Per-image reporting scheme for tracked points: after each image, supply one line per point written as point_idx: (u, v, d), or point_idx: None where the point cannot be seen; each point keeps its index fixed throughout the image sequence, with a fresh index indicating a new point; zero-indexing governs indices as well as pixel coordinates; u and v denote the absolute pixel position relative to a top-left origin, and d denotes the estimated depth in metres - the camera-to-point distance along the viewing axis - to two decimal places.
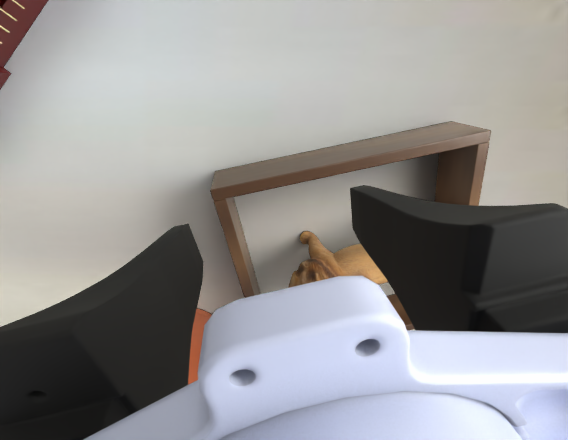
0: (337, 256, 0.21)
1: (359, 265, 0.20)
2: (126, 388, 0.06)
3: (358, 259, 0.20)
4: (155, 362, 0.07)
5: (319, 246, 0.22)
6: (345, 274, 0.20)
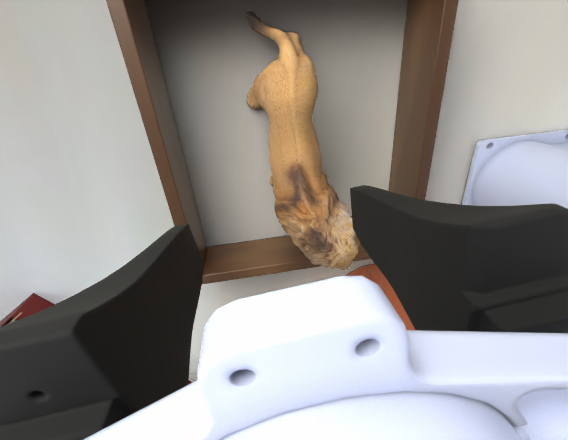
0: None
1: (277, 169, 0.16)
2: (126, 387, 0.06)
3: (273, 166, 0.16)
4: (155, 362, 0.07)
5: (274, 184, 0.20)
6: (284, 189, 0.16)
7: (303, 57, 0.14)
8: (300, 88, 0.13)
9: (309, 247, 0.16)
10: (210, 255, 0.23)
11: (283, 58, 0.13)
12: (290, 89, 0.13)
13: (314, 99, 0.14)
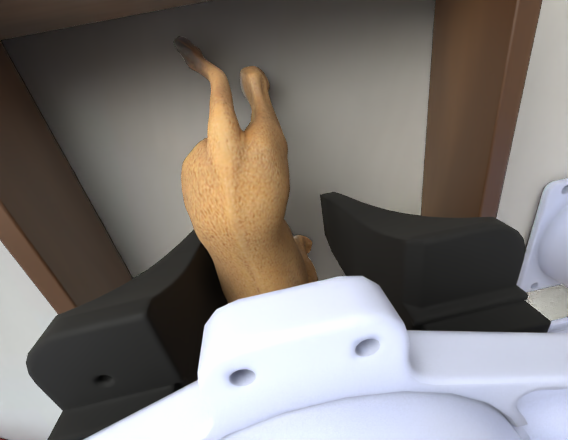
0: None
1: None
2: (186, 374, 0.06)
3: (227, 300, 0.10)
4: None
5: None
6: None
7: (254, 136, 0.07)
8: (248, 204, 0.07)
9: None
10: None
11: (210, 147, 0.07)
12: (227, 208, 0.07)
13: (281, 211, 0.07)
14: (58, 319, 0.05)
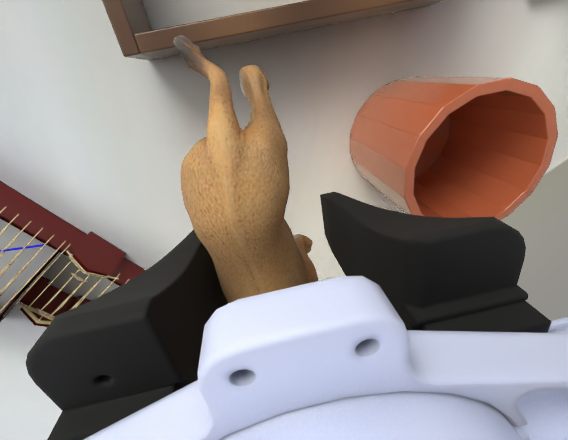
0: None
1: None
2: (186, 373, 0.06)
3: None
4: None
5: None
6: None
7: (254, 135, 0.07)
8: (248, 202, 0.07)
9: None
10: None
11: (210, 146, 0.07)
12: (227, 207, 0.07)
13: (281, 210, 0.07)
14: (58, 319, 0.05)
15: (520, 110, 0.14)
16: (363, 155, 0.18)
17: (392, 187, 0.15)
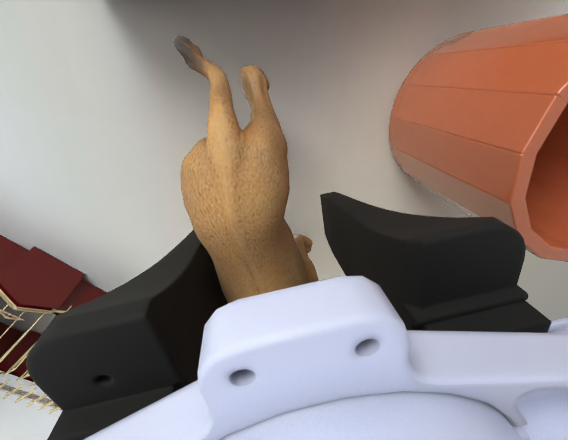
0: None
1: None
2: (185, 373, 0.06)
3: (226, 299, 0.10)
4: None
5: None
6: None
7: (254, 135, 0.07)
8: (248, 203, 0.07)
9: None
10: None
11: (209, 146, 0.07)
12: (227, 207, 0.07)
13: (281, 211, 0.07)
14: (58, 319, 0.05)
15: None
16: (415, 140, 0.13)
17: (479, 186, 0.10)
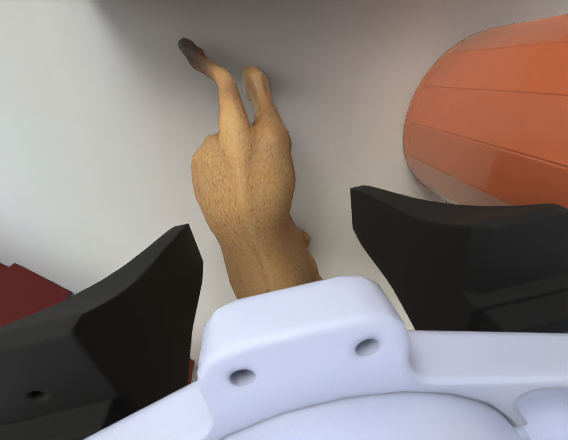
0: None
1: (240, 298, 0.10)
2: (126, 388, 0.06)
3: (234, 290, 0.10)
4: (155, 362, 0.07)
5: None
6: None
7: (263, 129, 0.07)
8: (260, 192, 0.07)
9: None
10: None
11: (223, 139, 0.07)
12: (240, 196, 0.07)
13: (289, 200, 0.08)
14: None
15: None
16: (436, 148, 0.11)
17: (517, 204, 0.08)
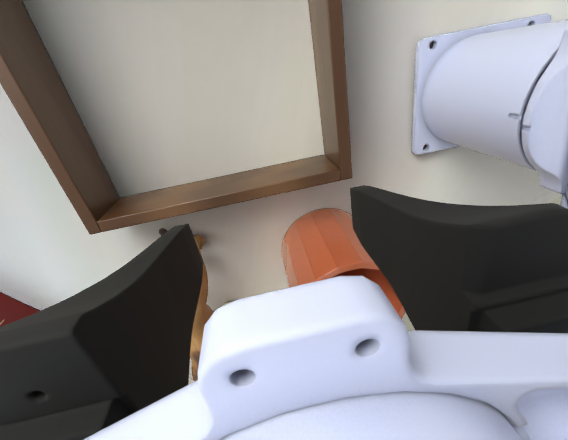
0: None
1: None
2: (126, 388, 0.06)
3: None
4: (155, 362, 0.07)
5: None
6: (193, 363, 0.22)
7: None
8: None
9: None
10: (118, 204, 0.20)
11: None
12: None
13: (200, 317, 0.20)
14: None
15: None
16: None
17: None
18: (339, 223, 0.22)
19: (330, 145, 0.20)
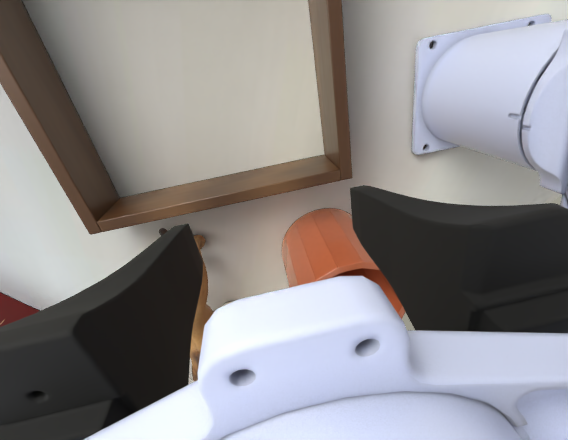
0: None
1: None
2: (126, 388, 0.06)
3: None
4: (155, 362, 0.07)
5: None
6: (193, 363, 0.22)
7: None
8: None
9: None
10: (118, 204, 0.20)
11: None
12: None
13: (200, 317, 0.20)
14: None
15: None
16: (286, 273, 0.23)
17: None
18: (339, 223, 0.22)
19: (330, 145, 0.20)
